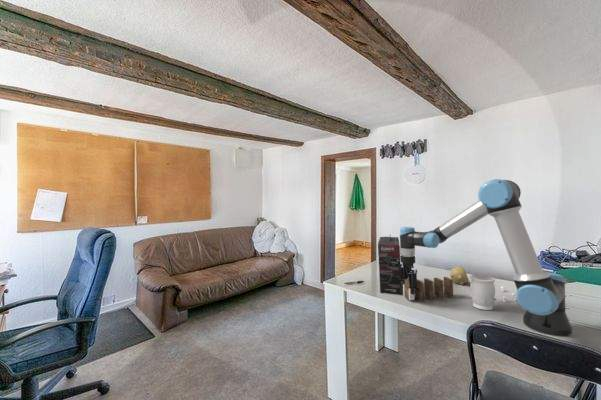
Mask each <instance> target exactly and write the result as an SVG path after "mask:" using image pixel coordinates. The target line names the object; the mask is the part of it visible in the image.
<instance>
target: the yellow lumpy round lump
mask: <svg viewBox="0 0 601 400" xmlns="http://www.w3.org/2000/svg"><path fill="white" fill-rule="evenodd" d="M449 274H450V278H451V279H453V284H454V283H456V284H457V285H458V284H459V285H461V286H462V285H464V284H467V283H469V281H470V280H469V278H468V275H467V272H466V270H465V268H464V267H462V266H455V267H453V268H452V269H451V270H450V273H449Z"/></svg>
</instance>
